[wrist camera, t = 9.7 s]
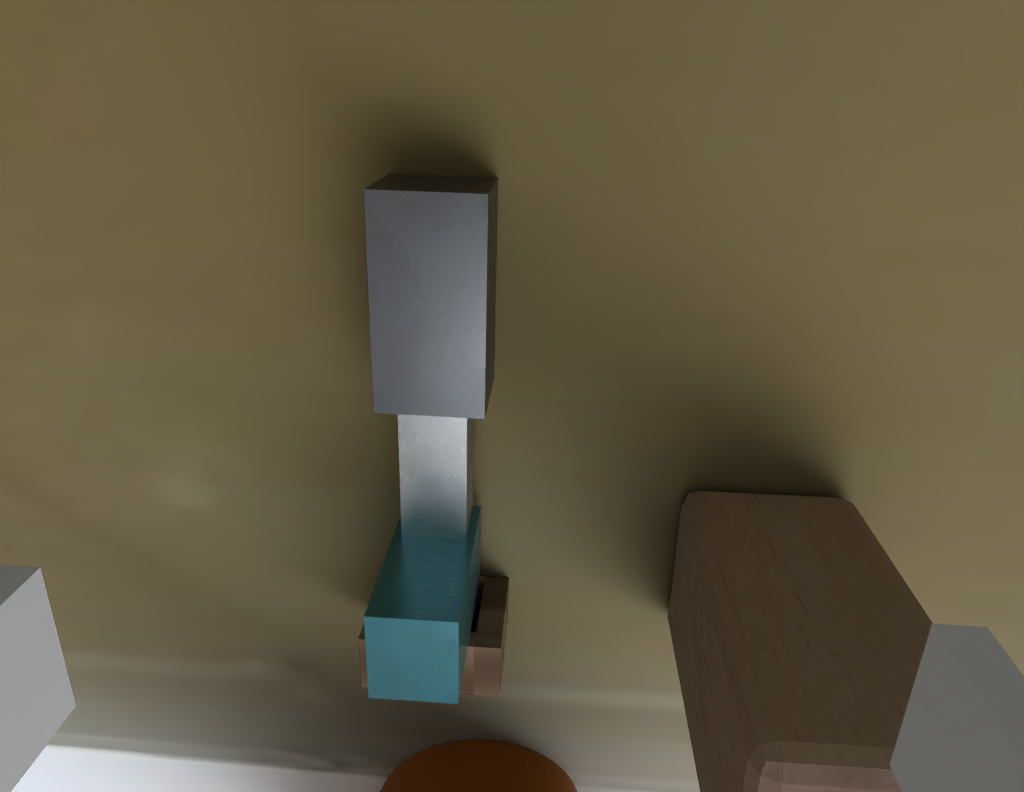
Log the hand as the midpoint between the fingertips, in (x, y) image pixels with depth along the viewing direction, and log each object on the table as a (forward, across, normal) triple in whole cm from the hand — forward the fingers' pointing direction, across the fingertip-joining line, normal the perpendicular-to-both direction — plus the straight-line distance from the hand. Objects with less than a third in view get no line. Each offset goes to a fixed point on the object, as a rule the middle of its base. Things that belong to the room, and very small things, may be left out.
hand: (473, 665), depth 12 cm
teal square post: (+31, -5, -15) cm, 34 cm away
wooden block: (+32, +14, -19) cm, 39 cm away
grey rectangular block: (+31, -5, -3) cm, 32 cm away
